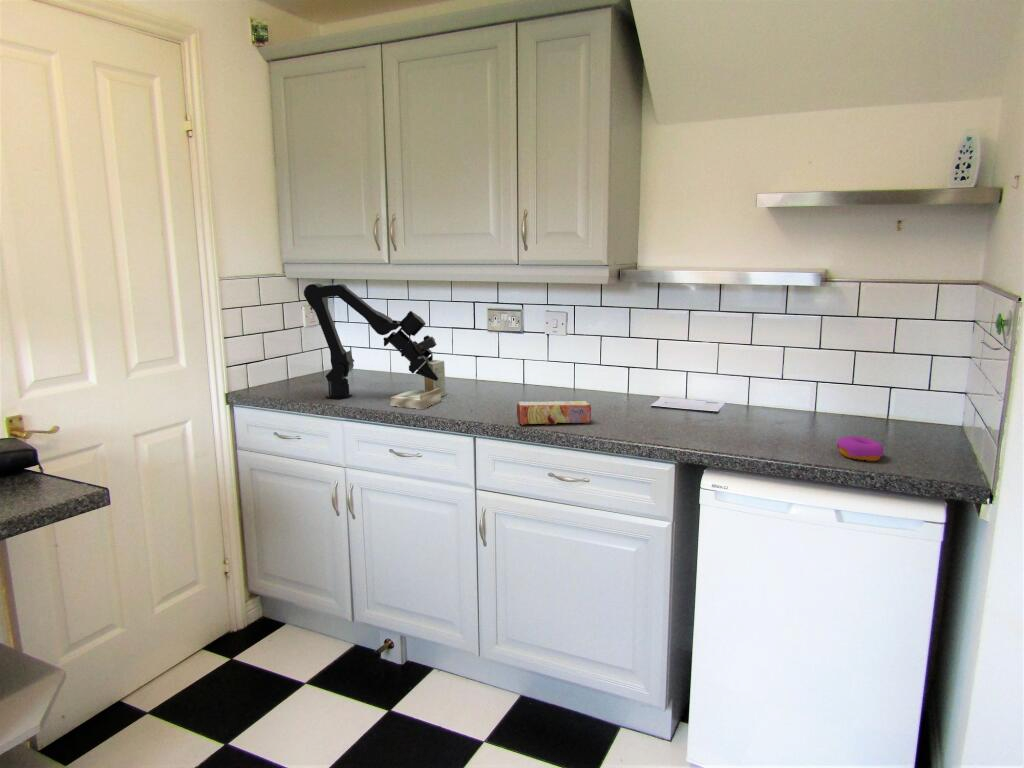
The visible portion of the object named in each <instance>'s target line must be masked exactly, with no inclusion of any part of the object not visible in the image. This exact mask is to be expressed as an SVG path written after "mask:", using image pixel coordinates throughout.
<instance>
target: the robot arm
mask: <svg viewBox="0 0 1024 768" xmlns="http://www.w3.org/2000/svg"><path fill="white" fill-rule="evenodd" d="M303 296H304V298H305V300H306V301H307V303H308V306H310V307H311V309H312V310H313V311H314V312H315V314H316V317H317V321H318V322H319V325H320V328H321V331H322V334H323V336H324V338H325V342H326V344H327V347H328V349H329V352H330V354H329V355H330V364H331V369H330V371H329V372H328V373H327V374H326V375H325V377H326V381H327V385H328V394H327V395H325V398H328V399H336V400H341V399H345V398H348V397H352V395H353V394H352V393H350V384H349V379H348V378H347V377H349V373H351V372H352V370H353V368H354V366H355V365H354V362H355V359H354V358H353V356H352V351H351V350H348V351H347V350H345V348H344V346H343V345H342V341H341V338H340V336H339V334H338V333H339V332H338V331H337V328H336V326H335V322H334V320H333V318H332V317H333V316H332V314H331V312H330V309H329V298H332V297H333V298H334V297H338V298H339V299H341V300H342V301H343V302H344V303H346V305H348V306H349V307H350V308H351V309H353V310H354V311H356V312H357V313H358V314H359V315H360V316H361V317H363V318H364V319H365V320H366V321H367V323H368V324H369V326H370V327H371V328H372V330H373V331H374V332H375V333H376V334H378V335H380V336H384V337H383V339H382V340H383V346H384V347H386V346H388V344H391V346H392V347H394V348H395V349H396V350H397V351H398V352H399V353H400V356H401V358H402V357H404V358H405V359H406V360H407V361H408V362H409V365H408V371H410V372H409V373H411V374H415V375H419V376H421V377H427V378H430V379H432V380H435V381H437V380H438V377H437V376H436V374H435V373H434V372H433V371H432V369H431V368H430V367H429V361H433V358H434V357H433V354H432V353H433V351H432V350H431V349H433V348H434V347H436V346H437V345H438V344H437V343H436V341H435V338H434V337H433V336H429V334H427V335H425V336H423V340H422V341H420V342H418V341H416V340H414V341H413V340H412V339H411V338H410V337H411V336H413V337H415V336H416V335H417V334H419V332H420V331H421V330H422V329H423V328H424V327H425V326H426V325H427V324H426V322H425V321H424V319H423V318H422V317H421V316H420V315H418V314H417V313H415V312H414V311H412V310H410V311H408V313H407V314H406V316H405V317H404V318H402V319H401V320H396V319H395V320H394V319H392V318H391V317H390V316H388V315H386V314H385V313H383V312H381V311H379V310H376V309H374V308H373V307H372V306H371V305H369V304H368V303H367V302H365V300H363V299H362V298H361V297H360V296H358V295H357V294H356V293H354V292H353V291H352V290H351V289H350V288H349V287H347V285H346V284H344V283H338V284H327V285H323V284H322V283H319V282H316V283H311V284H308V285H306V286H305V288H304V290H303ZM398 328H399V330H397V329H398ZM396 330H397V331H396ZM387 334H389V335H388V336H387V337H386V335H387Z"/></svg>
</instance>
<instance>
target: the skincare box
mask: <svg viewBox="0 0 1024 768" xmlns="http://www.w3.org/2000/svg"><path fill="white" fill-rule="evenodd" d="M429 367H430V368H431V369H432V371H433V372H434V373H435V374H436V376H437V377H438V380H437V381H435V380H432V379H430V378H427V377H424V376H423V377H424V391H427V392H430V391H432V390H434V389H437V388H441V397H444V396H446V395H447V394H446V392H447V391H446V374H445V373H446V371H445V370H446V369H445V360H440V359H434V360H433V361H429Z"/></svg>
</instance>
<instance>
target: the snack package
mask: <svg viewBox="0 0 1024 768" xmlns="http://www.w3.org/2000/svg"><path fill="white" fill-rule="evenodd" d="M516 418H517V421H518V424H519V425H520V424H521V425H520V426H522V425H523V426H525V425H524V424H545V425H558V424H557V423H589V424H590V423H591V420H592V406H591V404H590V403H589V402H588V401H586V400H577V401H575V400H573V401H570V400H569V401H567V400H564V401H563V400H562V401H560V400H557V401H555V400H554V401H553V400H552V401H518V403H517V405H516Z"/></svg>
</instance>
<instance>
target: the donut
mask: <svg viewBox="0 0 1024 768" xmlns="http://www.w3.org/2000/svg"><path fill="white" fill-rule="evenodd" d="M836 446H837V449H838V450H839V453H840V454H842V455H843V456H844V457H846V458H848V459H851V458H852V460H856V459H857V460H856V461H864V460H866V461H867V462H876V461H879V460H880V459H881V457H882V456H883V455H884V447H883V445H882V444H881V443H880V442H878V441H876V440H874V439H870V438H866V437H862V436H852V435H851V436H843V437H841V438H838V440H837V442H836ZM866 461H865V462H866Z"/></svg>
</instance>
